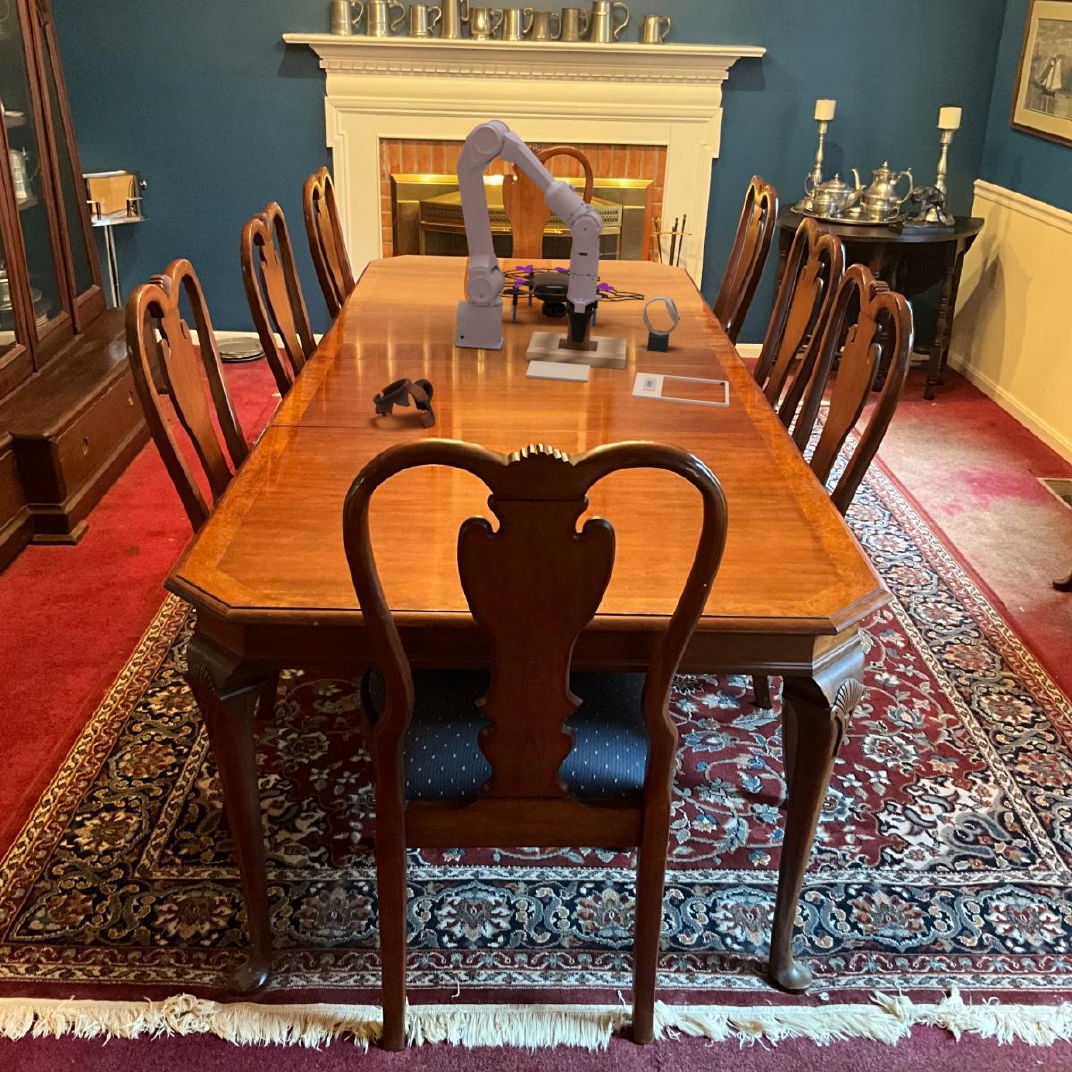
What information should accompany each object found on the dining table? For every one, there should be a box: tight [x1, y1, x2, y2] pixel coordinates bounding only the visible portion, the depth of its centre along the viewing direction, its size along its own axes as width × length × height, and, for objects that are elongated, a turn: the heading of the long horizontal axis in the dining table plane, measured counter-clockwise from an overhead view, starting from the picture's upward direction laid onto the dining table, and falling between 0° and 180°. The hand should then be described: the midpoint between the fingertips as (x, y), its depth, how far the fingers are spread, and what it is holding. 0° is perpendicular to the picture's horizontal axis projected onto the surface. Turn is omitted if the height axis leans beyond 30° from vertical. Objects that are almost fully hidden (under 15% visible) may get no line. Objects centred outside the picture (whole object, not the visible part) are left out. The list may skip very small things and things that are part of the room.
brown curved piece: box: [372, 377, 436, 429], centre depth 180 cm, size 12×10×8 cm
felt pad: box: [525, 361, 591, 383], centre depth 210 cm, size 12×10×1 cm
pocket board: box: [525, 330, 627, 370], centre depth 222 cm, size 20×16×2 cm
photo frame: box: [631, 372, 730, 408], centre depth 204 cm, size 15×1×18 cm
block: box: [565, 317, 592, 351], centre depth 221 cm, size 4×4×8 cm
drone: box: [500, 264, 646, 327], centre depth 250 cm, size 40×10×28 cm
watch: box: [642, 295, 681, 353], centre depth 228 cm, size 6×8×11 cm
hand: (578, 338), depth 221 cm, fingers closed on block, 4 cm apart
